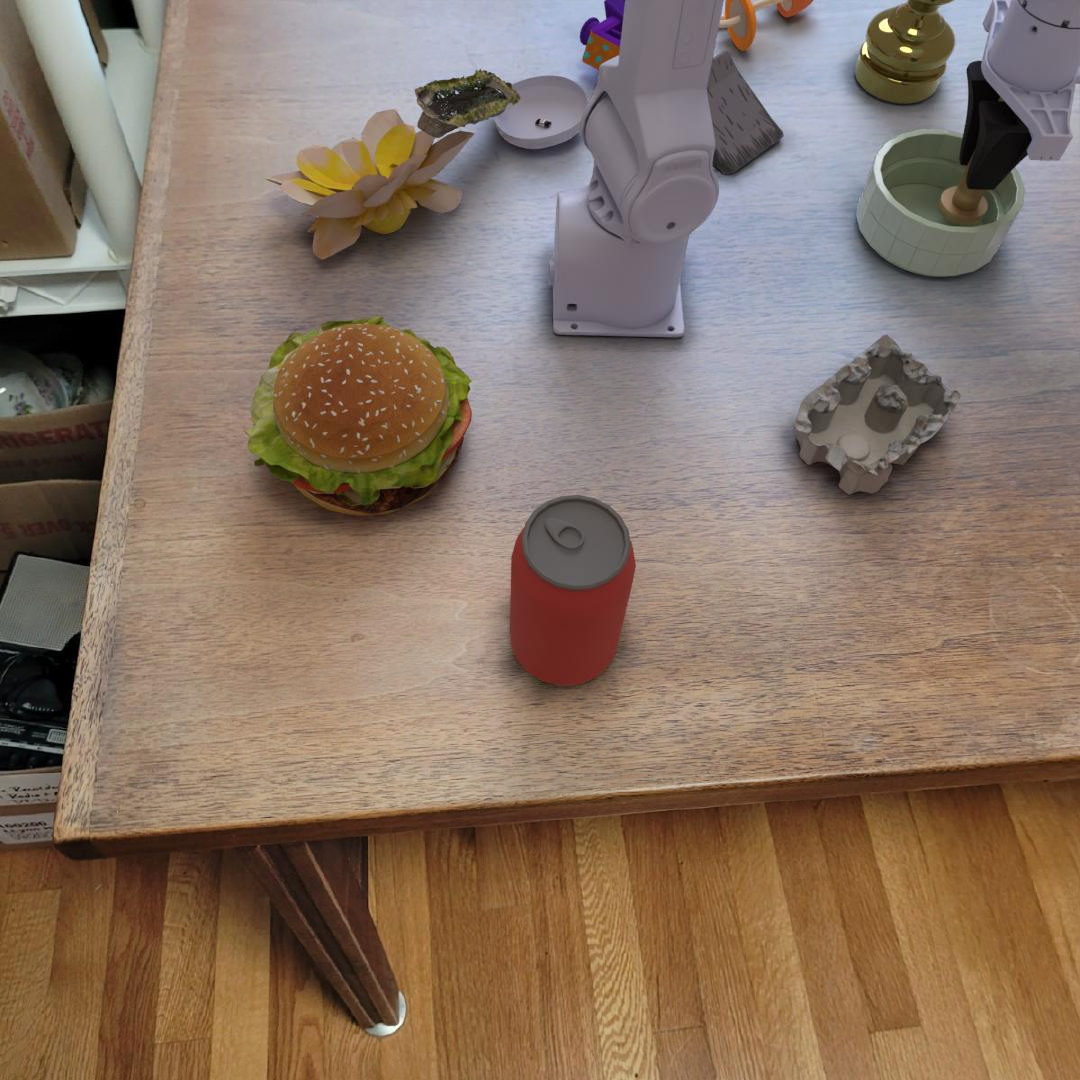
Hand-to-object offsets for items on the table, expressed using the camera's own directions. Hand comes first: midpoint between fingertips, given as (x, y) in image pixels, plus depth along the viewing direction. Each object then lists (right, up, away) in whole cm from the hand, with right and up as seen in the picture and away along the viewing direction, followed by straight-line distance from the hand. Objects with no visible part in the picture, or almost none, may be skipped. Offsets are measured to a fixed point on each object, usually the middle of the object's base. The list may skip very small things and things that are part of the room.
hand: (976, 174), depth 78 cm
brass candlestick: (-1, +13, +14) cm, 19 cm away
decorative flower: (-45, -2, +3) cm, 45 cm away
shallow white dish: (-32, +7, +9) cm, 34 cm away
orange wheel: (-22, +18, +14) cm, 31 cm away
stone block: (-36, +6, 0) cm, 36 cm away
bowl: (-2, -3, +5) cm, 6 cm away
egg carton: (-10, -20, -6) cm, 23 cm away
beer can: (-31, -33, -14) cm, 48 cm away
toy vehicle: (-22, +11, +12) cm, 27 cm away
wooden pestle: (0, -2, +3) cm, 3 cm away
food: (-44, -21, -7) cm, 50 cm away
